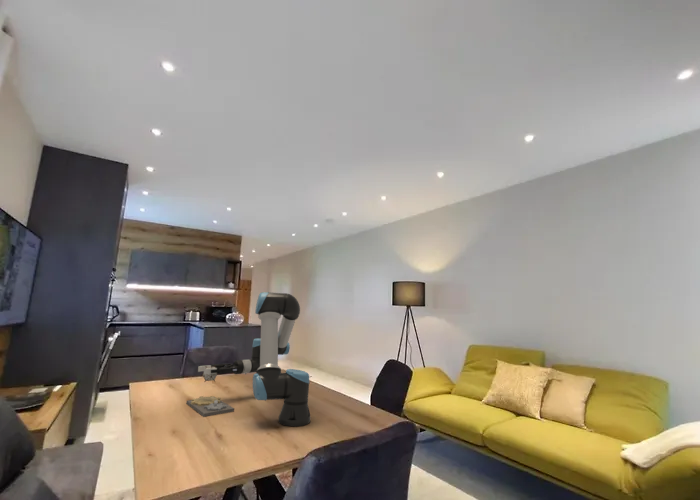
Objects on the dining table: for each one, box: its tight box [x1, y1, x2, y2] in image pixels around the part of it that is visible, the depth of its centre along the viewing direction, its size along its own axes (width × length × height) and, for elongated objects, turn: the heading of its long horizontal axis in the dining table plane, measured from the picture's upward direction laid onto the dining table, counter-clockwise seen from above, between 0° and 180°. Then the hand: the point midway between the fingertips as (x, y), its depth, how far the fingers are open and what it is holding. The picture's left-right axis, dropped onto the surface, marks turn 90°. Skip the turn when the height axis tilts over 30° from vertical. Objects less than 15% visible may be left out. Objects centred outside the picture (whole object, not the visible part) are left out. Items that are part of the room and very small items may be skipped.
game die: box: [202, 365, 219, 383], centre depth 179 cm, size 9×8×10 cm
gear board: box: [186, 395, 235, 418], centre depth 173 cm, size 26×15×5 cm, turn 43°
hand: (201, 370), depth 177 cm, fingers closed on game die, 8 cm apart
